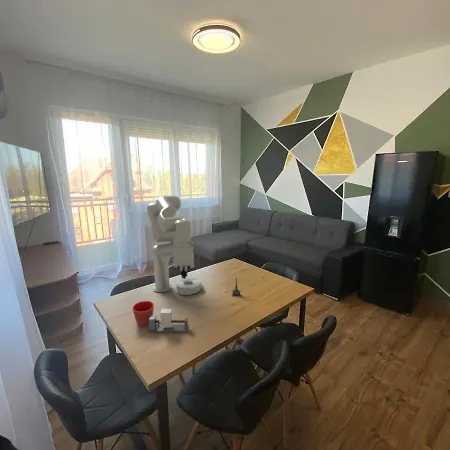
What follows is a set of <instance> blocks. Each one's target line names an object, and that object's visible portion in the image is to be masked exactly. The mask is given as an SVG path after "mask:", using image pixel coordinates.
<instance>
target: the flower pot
mask: <svg viewBox="0 0 450 450" xmlns="http://www.w3.org/2000/svg"><path fill="white" fill-rule="evenodd" d="M154 305H155V304H154V303H153V302H152V301H149V300H142V301H140V302H136V303H135V304H134V305H133V306H132V313H133V315H134V319H135V322H136V324H137V326H139V327H147V326H150V325H149V319H150V317H151V315H154V307H155V306H154Z"/></svg>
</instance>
